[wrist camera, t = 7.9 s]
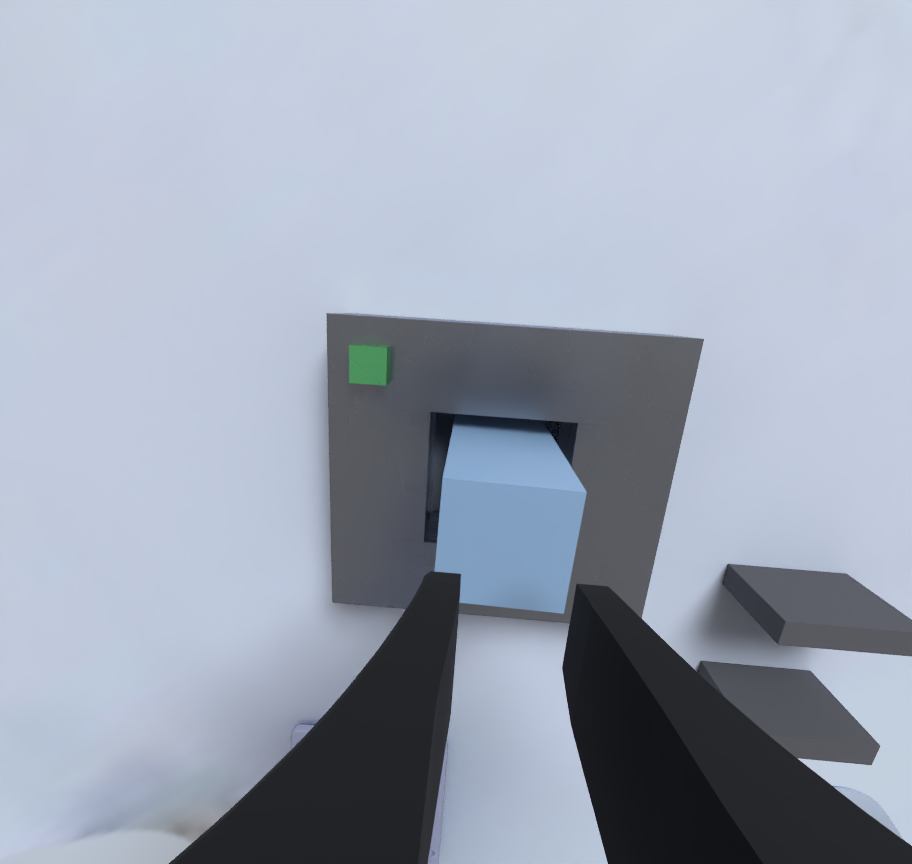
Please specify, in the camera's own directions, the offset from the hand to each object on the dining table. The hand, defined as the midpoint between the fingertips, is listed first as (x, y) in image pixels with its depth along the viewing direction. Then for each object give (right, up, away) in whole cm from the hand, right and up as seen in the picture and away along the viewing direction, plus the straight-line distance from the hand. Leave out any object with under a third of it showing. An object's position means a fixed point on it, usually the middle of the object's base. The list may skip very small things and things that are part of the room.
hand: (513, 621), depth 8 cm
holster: (+13, -5, +11) cm, 18 cm away
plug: (0, +3, +9) cm, 9 cm away
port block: (0, +3, +9) cm, 9 cm away
